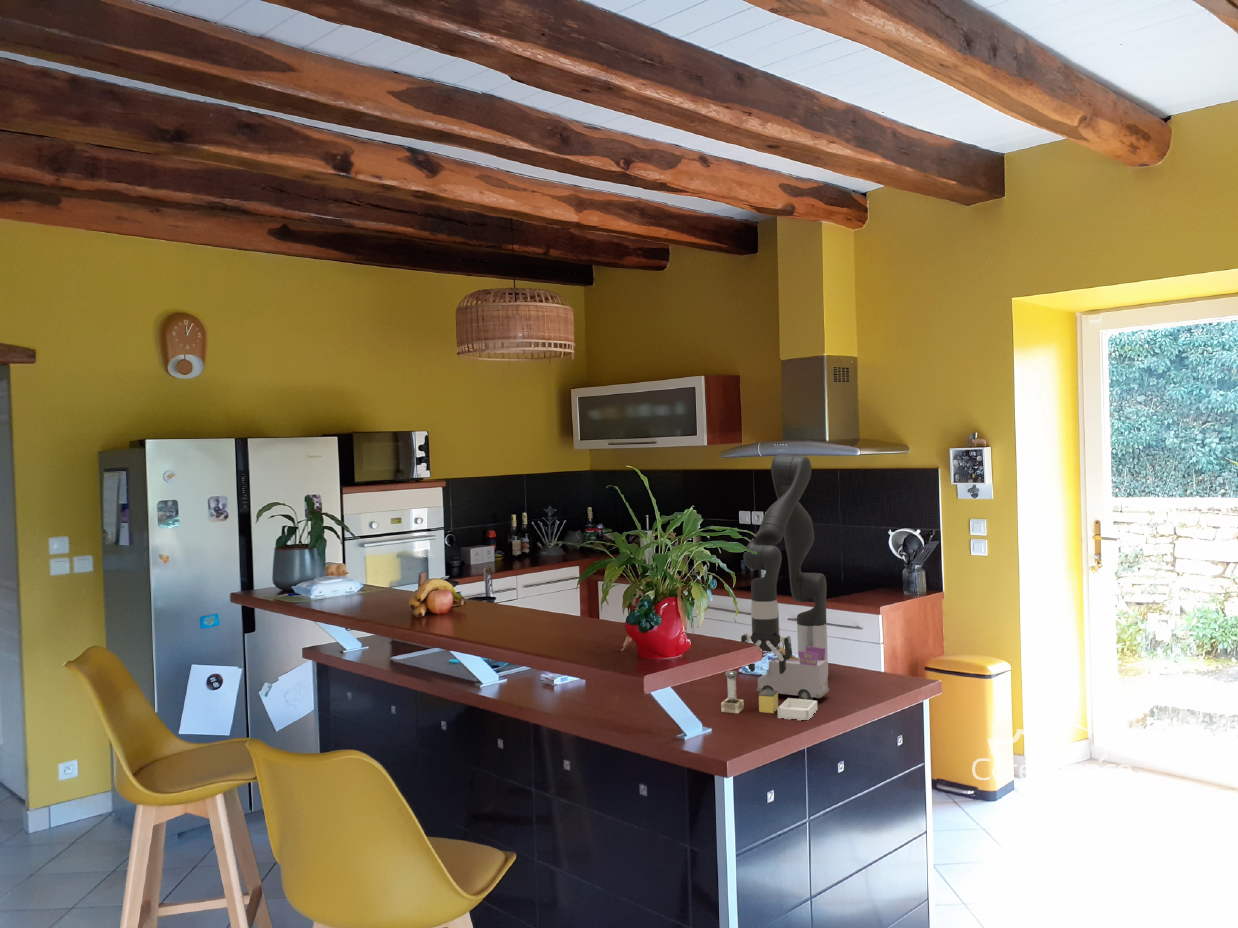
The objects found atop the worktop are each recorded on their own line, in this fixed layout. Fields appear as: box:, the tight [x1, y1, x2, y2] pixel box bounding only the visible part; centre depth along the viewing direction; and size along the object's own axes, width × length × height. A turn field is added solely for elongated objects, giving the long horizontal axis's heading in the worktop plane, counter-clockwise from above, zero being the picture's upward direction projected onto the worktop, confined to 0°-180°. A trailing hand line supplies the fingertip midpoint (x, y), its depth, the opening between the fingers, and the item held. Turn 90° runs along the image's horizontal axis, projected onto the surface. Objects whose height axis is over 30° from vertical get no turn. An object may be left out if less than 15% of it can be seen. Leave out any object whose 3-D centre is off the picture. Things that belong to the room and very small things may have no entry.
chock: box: [758, 690, 779, 714], centre depth 262 cm, size 5×4×5 cm
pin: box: [725, 670, 738, 704], centre depth 263 cm, size 3×3×11 cm
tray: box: [777, 697, 819, 721], centre depth 257 cm, size 10×8×3 cm
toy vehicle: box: [756, 645, 830, 700], centre depth 274 cm, size 9×20×15 cm, turn 59°
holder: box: [720, 697, 745, 714], centre depth 263 cm, size 5×5×2 cm
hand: (767, 672), depth 263 cm, fingers open, 8 cm apart
